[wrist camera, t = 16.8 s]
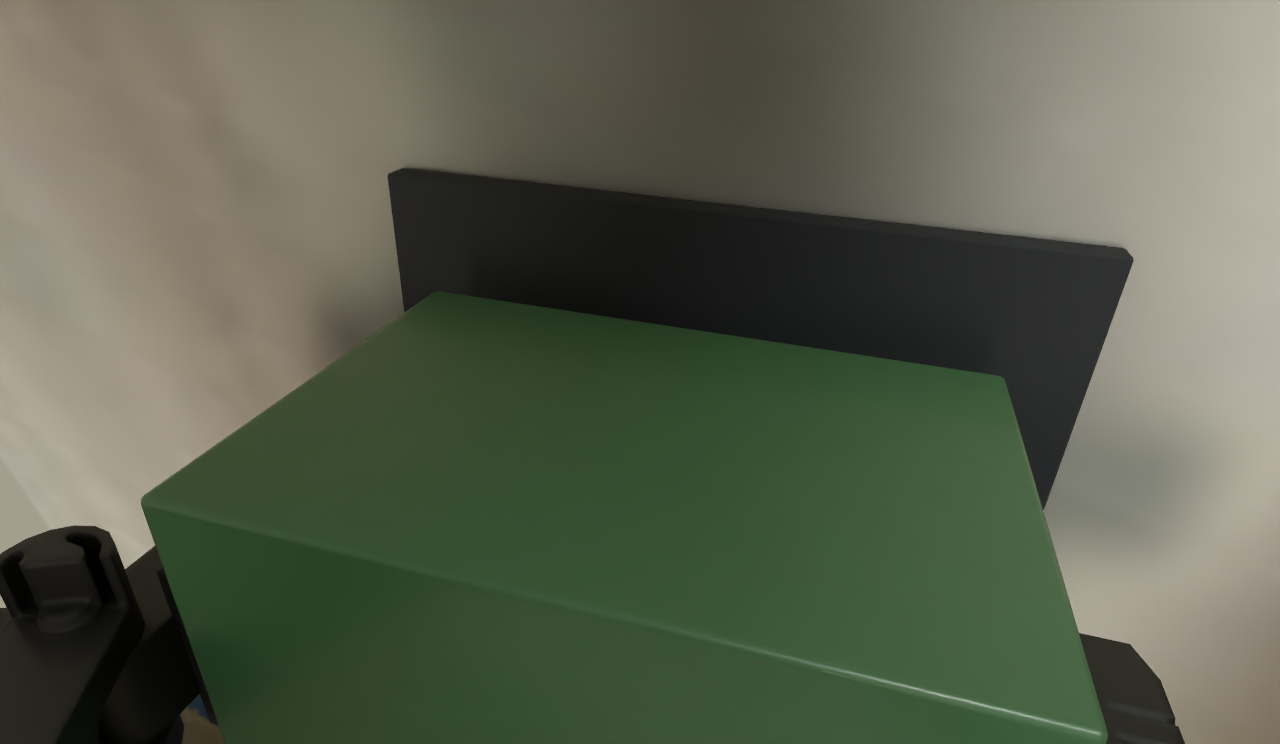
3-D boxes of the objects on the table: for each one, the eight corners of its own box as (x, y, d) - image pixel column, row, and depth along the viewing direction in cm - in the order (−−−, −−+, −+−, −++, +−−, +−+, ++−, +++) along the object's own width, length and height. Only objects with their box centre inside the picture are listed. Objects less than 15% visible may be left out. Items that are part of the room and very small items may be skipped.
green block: (435, 288, 13) (134, 497, 8) (1006, 374, 11) (1116, 738, 6) (462, 559, 16) (257, 844, 10) (918, 669, 14) (936, 1088, 8)
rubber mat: (401, 167, 14) (385, 173, 13) (1127, 247, 11) (1136, 257, 11) (444, 546, 18) (433, 560, 18) (976, 672, 15) (979, 692, 15)
